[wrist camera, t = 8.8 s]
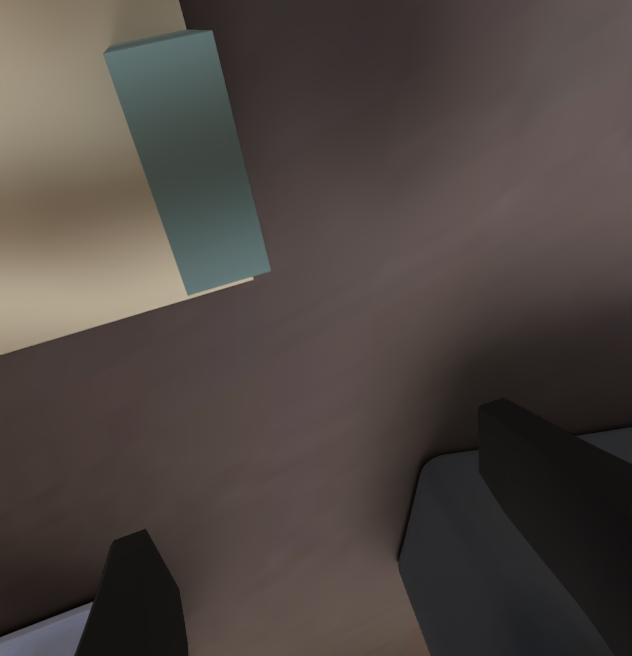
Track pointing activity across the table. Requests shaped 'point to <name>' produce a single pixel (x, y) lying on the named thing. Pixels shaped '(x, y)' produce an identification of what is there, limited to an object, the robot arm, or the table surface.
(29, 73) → the wooden board
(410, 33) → the table surface
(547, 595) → the storage bin
